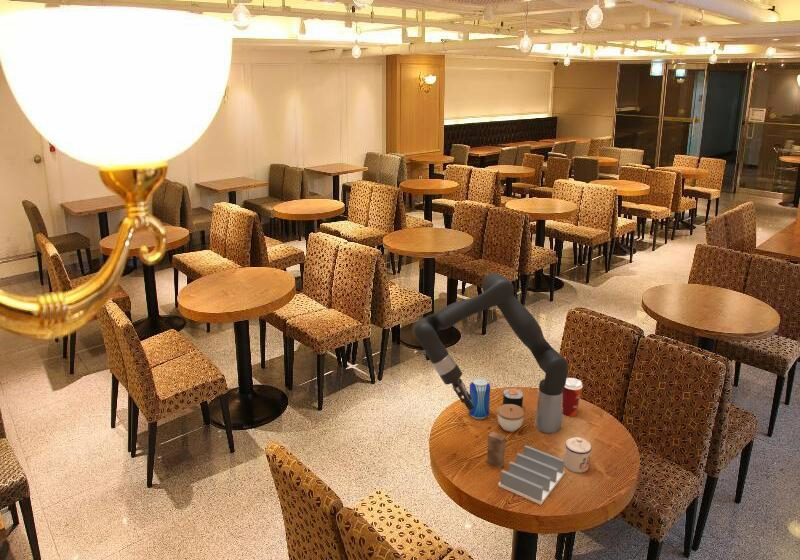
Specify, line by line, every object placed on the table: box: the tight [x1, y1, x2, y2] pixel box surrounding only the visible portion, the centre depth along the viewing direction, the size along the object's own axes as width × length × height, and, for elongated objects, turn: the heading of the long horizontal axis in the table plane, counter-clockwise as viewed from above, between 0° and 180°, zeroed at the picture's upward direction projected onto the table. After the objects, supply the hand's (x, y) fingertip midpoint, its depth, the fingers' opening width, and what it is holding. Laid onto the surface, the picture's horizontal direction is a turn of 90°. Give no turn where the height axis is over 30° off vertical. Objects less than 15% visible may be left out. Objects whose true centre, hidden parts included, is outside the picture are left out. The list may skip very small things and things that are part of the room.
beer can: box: [468, 377, 491, 420], centre depth 245 cm, size 8×8×16 cm
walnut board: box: [486, 431, 507, 469], centre depth 215 cm, size 6×3×12 cm, turn 53°
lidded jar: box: [496, 404, 525, 432], centre depth 238 cm, size 11×11×9 cm
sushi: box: [502, 388, 524, 409], centre depth 252 cm, size 8×8×8 cm
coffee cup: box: [561, 377, 583, 418], centre depth 246 cm, size 8×8×15 cm
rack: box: [498, 445, 566, 506], centre depth 207 cm, size 16×20×6 cm
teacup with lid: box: [563, 436, 592, 474], centre depth 215 cm, size 12×9×12 cm
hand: (470, 404), depth 214 cm, fingers open, 8 cm apart
